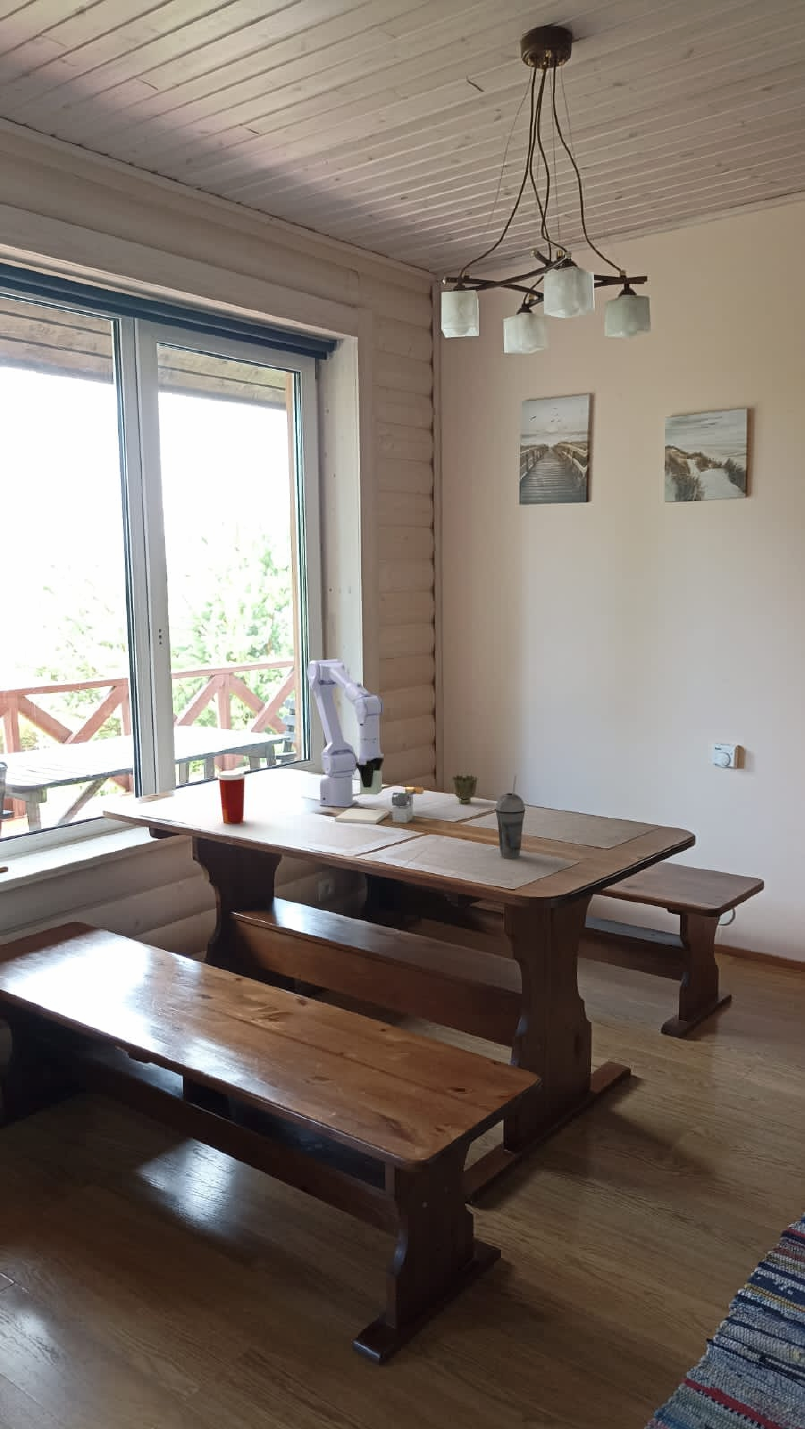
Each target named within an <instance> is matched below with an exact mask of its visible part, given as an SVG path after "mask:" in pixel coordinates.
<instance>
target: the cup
mask: <svg viewBox="0 0 805 1429" xmlns="http://www.w3.org/2000/svg"><path fill="white" fill-rule="evenodd" d="M477 782H478V777H476V776H473V775H472V774H471V775H468V774H467V775H466V776H465V777H463V775H456V776H455V775H454V776H453V777H452V785H453V786H452V787H453V792H454V795H455V797H457V799H458V803H459V804H460V805H469V804H470V803H471V802H472V800H471V799H472V798H473V797H474V796H475V794H476V791H477Z"/></svg>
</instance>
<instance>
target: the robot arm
mask: <svg viewBox="0 0 805 1429" xmlns="http://www.w3.org/2000/svg"><path fill="white" fill-rule="evenodd" d="M306 675H307V680H308V682H309V686H310V690H312V691H313V695H314V698H315V702H316V706H317V709H318V714H319V717H320V721H321V726H322V729H323V733H324V736H325V741H326V744H327V745H326V746H325V748H323V750H322V751H321V753H320V756H321V767H322V771H323V772H324V773H325V774H323V775H322V776H321V778H320V782H319V794H320V795H319V798H320V800H319V801H320V803H319V806H326V807H327V806H328V807H340V808H342V807H343V808H349V807H352V806H353V805H354V804H356V803H357V802H358V800H357V799H353V798H354V797H353V796H354V795H353V794H354V792H353V790H354V788H353V775H355V772H356V771H358V772H359V776H360V775H361V779H362V783H363V786H364V787H369V788H370V787H371V786H372V778H373V772H374V770H376V771H381V768H382V765H383V763H384V758H383V757H384V754H385V753H381V748H380V716H381V715H382V714H383V711H384V701H382V699H381V697H380V696H379V695H375V694H371V693H370V692H369V691H368V690H367V689H366V688H365V687H364V686H363V685H362V683H361V682H360V681H354V680H353V679H351V677H350V676H349V674H347V672H346V671H345V663H344V662H342V661H341V659H339V658H334V659H325V660H324V659H323V660H311V661H310V662H309V664H308V665H307V670H306ZM338 686H339V687H340V688H341V689H343V691H344V692H343V693H344V697H345V698H346V699H347V700H348V701H349V702H350V703H351V704H352V705H353V706H354V712H355V714H356V721H357V723H358V726H359V728H358V731H359V754H358V756H357V754H356V753H355V750H354V747H353V745H351V744H349V743H348V742H346V741H345V739H344V734H343V732H342V728H341V727H342V726H341V725H340V720H339V716H338V712H337V708H336V704H335V700H334V696H333V691H334V690H335V689H336V688H338Z"/></svg>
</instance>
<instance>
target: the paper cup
mask: <svg viewBox="0 0 805 1429" xmlns="http://www.w3.org/2000/svg"><path fill="white" fill-rule="evenodd" d="M244 772H245V771H243V770H234V769H233V770H224V771H221V772H219V774H218V776H217V779H218V781H219V795H220V804H221V812H222V822H223V823H224V824H229V825H233V824H235V825H237V824H240V823H243V822H244V815H245V814H244V811H245V779H246V775H245V773H244Z"/></svg>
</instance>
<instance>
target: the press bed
mask: <svg viewBox="0 0 805 1429" xmlns="http://www.w3.org/2000/svg"><path fill="white" fill-rule="evenodd" d="M389 814H390V811H389V810H384V809H383V810H380V809H367V808H366V809H364V808H349V807H348V809H346V810H345V811H343V812H342V813H341V814H339V815H337V816H336V817H334V822H339V823H340V822H341V823H354V824H355V823H356V824H368V825H369V824H370V825H372V824H373V825H376V824H377V823H379V822H381V821H382V820H383V819H384V818H386V817H387V816H388V815H389Z"/></svg>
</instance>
